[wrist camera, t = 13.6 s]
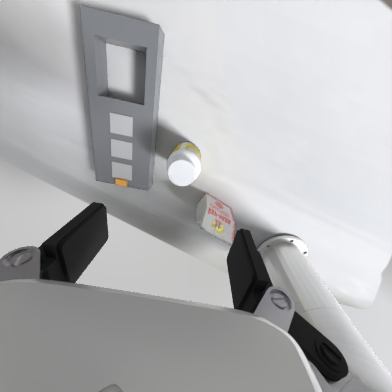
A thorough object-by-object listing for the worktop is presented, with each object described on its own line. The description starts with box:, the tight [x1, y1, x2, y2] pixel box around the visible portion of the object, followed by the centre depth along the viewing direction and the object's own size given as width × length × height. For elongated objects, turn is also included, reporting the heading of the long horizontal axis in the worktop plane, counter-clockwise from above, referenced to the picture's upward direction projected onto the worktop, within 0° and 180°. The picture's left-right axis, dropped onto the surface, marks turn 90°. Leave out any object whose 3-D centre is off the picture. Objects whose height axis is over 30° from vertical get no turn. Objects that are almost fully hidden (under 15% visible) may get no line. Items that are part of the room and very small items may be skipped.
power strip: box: [80, 5, 164, 190], centre depth 27 cm, size 24×10×4 cm, turn 169°
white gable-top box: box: [196, 193, 236, 246], centre depth 32 cm, size 4×7×10 cm, turn 56°
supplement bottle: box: [167, 142, 201, 186], centre depth 27 cm, size 5×5×10 cm
